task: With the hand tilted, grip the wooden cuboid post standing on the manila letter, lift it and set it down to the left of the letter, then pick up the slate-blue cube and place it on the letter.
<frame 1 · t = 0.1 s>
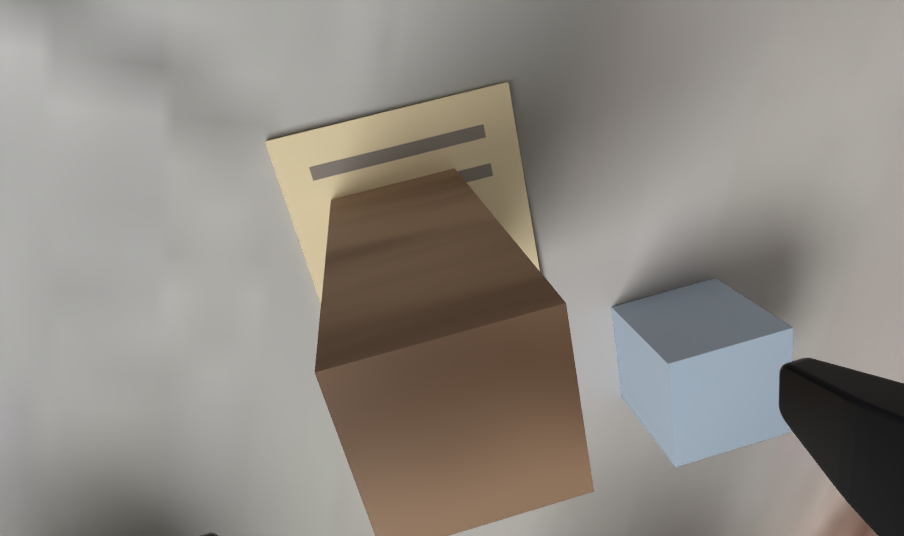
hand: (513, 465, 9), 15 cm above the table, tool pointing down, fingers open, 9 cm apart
letter: (425, 259, 23), on the table
slate cube: (666, 338, 27), on the table
wooden cuboid post: (408, 242, 22), resting on letter
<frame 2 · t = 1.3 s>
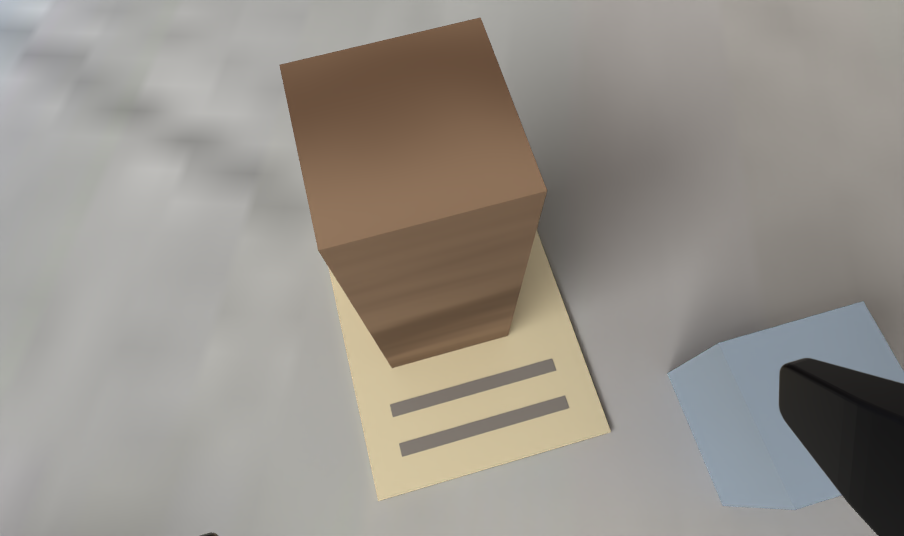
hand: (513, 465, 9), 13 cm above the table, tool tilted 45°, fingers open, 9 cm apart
letter: (453, 317, 23), on the table
slate cube: (754, 418, 22), on the table
wooden cuboid post: (434, 296, 24), resting on letter
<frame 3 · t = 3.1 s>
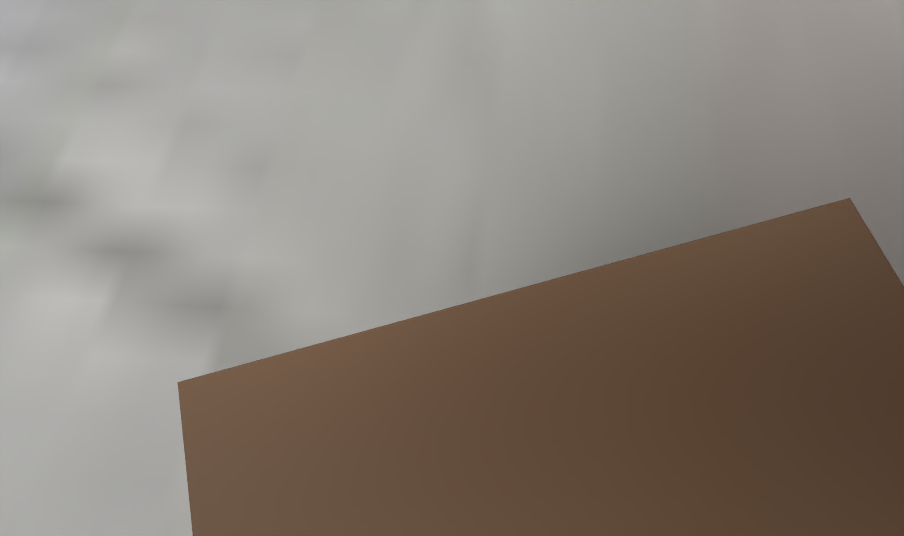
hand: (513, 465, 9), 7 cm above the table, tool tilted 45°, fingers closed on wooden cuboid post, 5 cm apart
wooden cuboid post: (511, 535, 14), resting on letter, touching gripper
when the fingers open (7 cm above the table, at t = 6.7 s): wooden cuboid post stays where it is, on the table.
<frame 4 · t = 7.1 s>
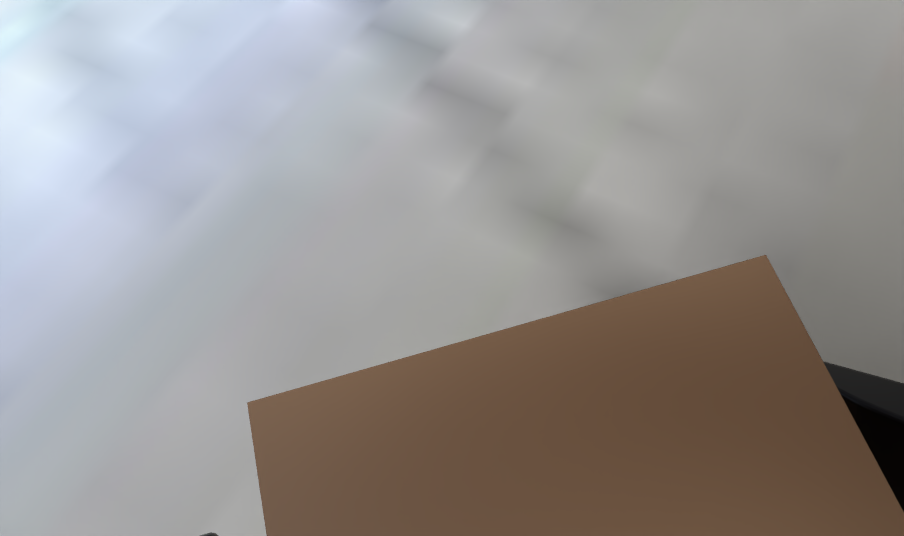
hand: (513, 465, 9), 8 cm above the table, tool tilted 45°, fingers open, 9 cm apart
wooden cuboid post: (509, 532, 15), on the table
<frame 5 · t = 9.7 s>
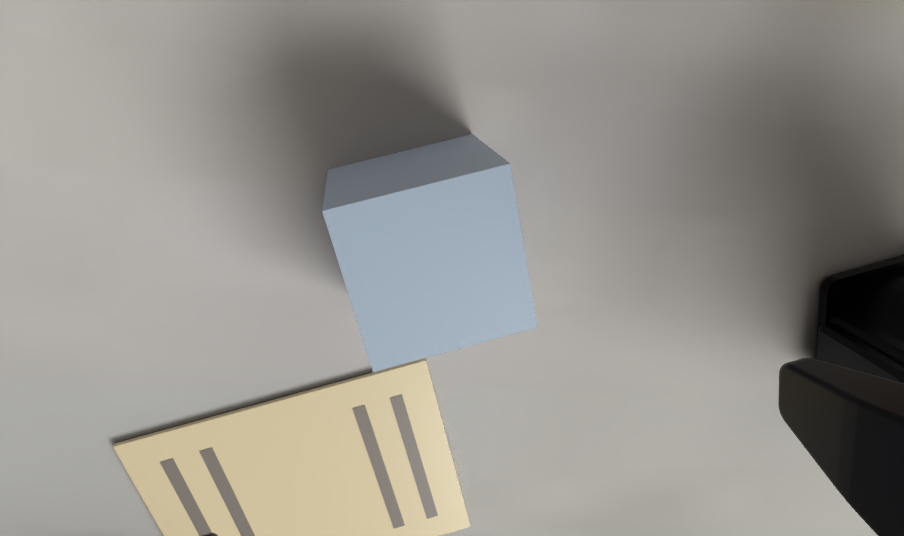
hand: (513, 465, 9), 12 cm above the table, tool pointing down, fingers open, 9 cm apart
letter: (309, 487, 24), on the table
slate cube: (417, 219, 20), on the table
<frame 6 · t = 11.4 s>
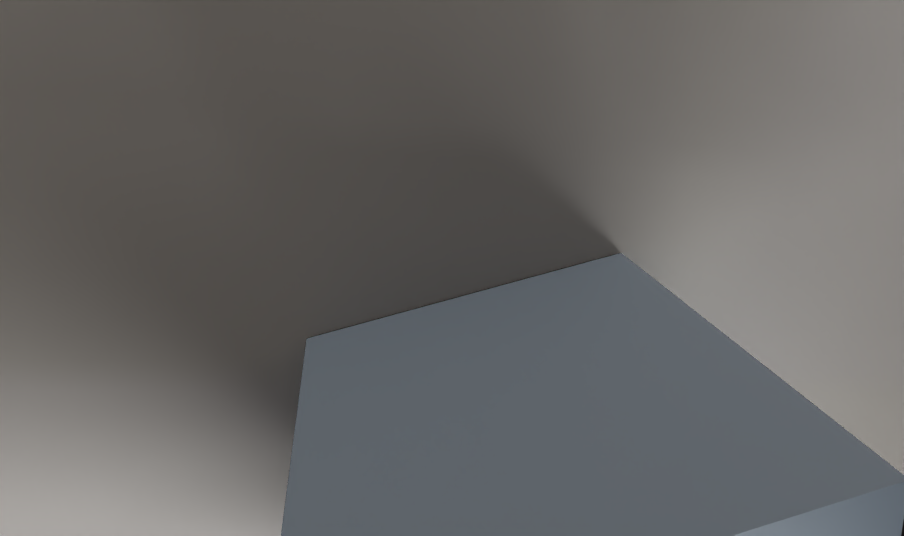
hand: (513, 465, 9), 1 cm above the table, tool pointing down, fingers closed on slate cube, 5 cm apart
slate cube: (496, 423, 10), on the table, touching gripper
when the fingers open (2 cm above the table, at t = 15.3 s): slate cube stays where it is, resting on letter.
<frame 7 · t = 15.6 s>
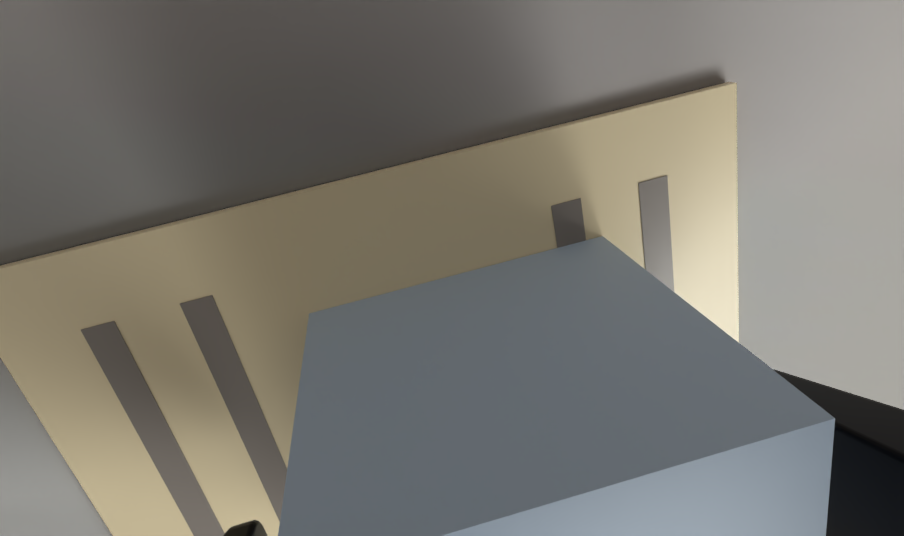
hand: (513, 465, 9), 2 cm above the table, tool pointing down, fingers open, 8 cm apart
letter: (430, 407, 11), on the table
slate cube: (486, 396, 10), resting on letter
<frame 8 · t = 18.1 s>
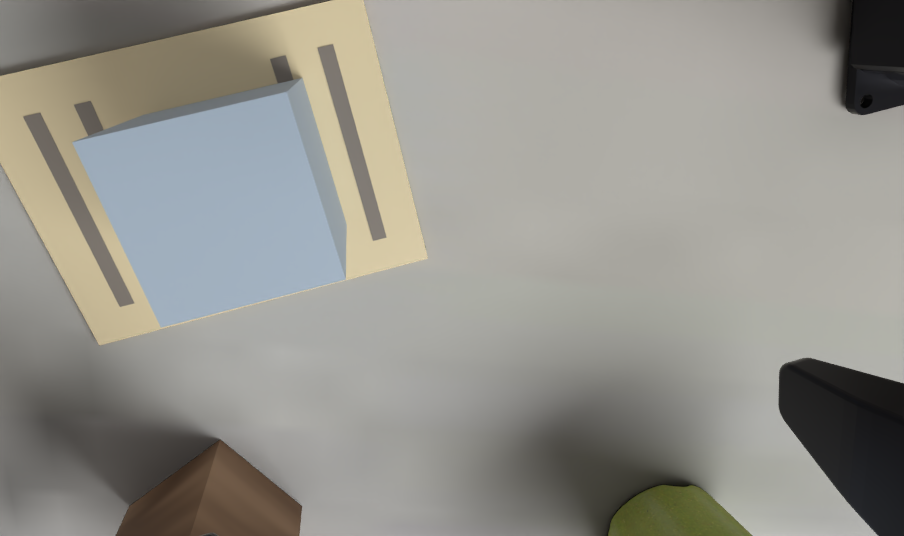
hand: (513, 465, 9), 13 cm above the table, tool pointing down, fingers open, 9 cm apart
letter: (222, 180, 19), on the table
slate cube: (251, 172, 19), resting on letter
wooden cuboid post: (218, 506, 24), on the table
plant pot: (656, 524, 29), on the table
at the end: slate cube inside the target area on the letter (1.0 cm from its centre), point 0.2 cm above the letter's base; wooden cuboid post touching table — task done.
